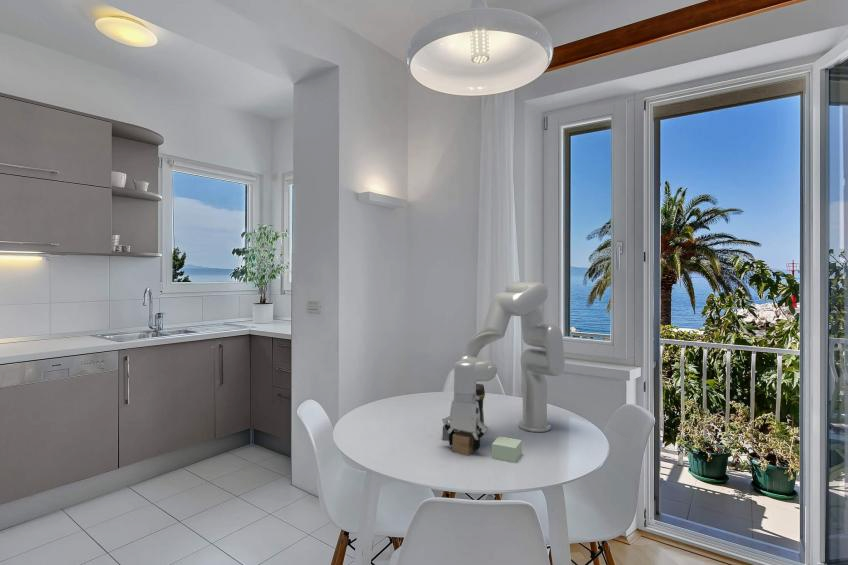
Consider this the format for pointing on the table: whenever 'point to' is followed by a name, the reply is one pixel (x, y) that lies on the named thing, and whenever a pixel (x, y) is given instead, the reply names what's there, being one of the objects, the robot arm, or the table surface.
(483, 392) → the coffee jar
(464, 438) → the walnut cube
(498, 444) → the sage block
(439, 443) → the table surface
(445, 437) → the charcoal block
